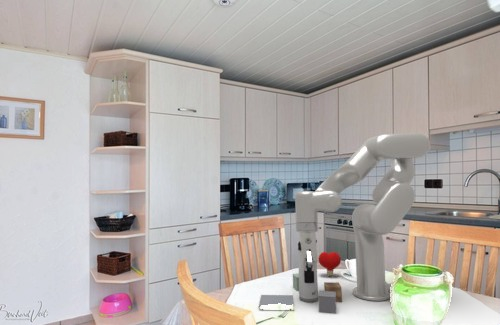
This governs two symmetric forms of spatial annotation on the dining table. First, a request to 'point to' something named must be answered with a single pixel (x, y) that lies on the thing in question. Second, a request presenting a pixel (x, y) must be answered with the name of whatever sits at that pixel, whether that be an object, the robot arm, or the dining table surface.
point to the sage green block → (296, 281)
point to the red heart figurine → (329, 261)
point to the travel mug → (307, 290)
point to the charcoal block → (327, 302)
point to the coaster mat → (276, 299)
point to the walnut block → (334, 289)
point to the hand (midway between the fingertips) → (308, 279)
